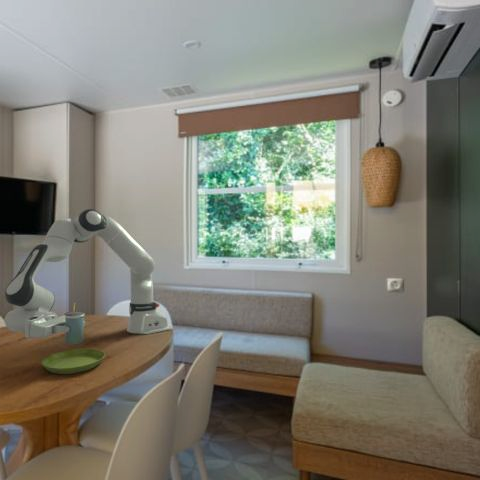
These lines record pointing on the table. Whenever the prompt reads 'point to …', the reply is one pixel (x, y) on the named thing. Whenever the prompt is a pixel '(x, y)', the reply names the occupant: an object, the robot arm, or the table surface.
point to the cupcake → (71, 311)
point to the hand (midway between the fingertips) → (76, 326)
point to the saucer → (73, 361)
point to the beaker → (74, 328)
